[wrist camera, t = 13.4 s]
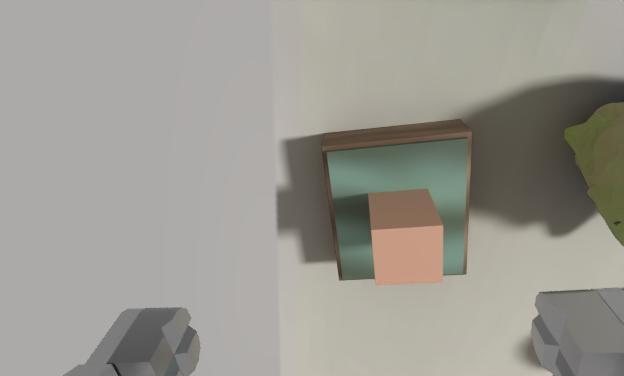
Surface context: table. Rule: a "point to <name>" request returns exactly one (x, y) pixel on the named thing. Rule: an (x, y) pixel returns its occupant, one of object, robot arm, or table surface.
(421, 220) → the terracotta block
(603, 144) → the earth globe model
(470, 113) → the table surface
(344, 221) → the green lidded wooden box
